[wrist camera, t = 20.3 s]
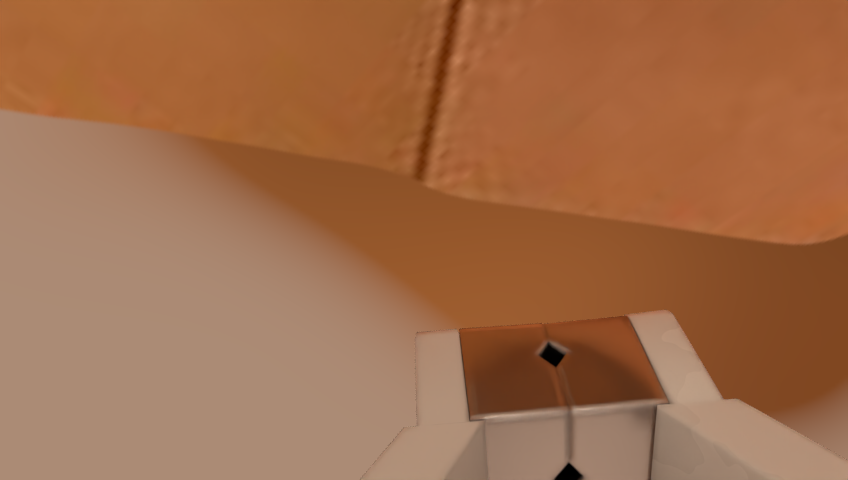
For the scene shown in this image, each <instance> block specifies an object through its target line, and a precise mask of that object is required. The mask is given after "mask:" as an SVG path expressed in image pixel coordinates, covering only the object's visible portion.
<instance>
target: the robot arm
mask: <svg viewBox="0 0 848 480" xmlns="http://www.w3.org/2000/svg"><path fill="white" fill-rule="evenodd" d="M459 334H460V337H459ZM415 369H416V413H417V414H416V415H417V426H413V427H405V428H403V429H402V430H401V431H400V433H399V434H398V435H397V436H396V437H395V439H394V440H393V441H392V442H391V443H390V444H389V446H388V447H387V448H386V449H385V450H384V452H383V453H382V454H381V455H380V457H379V458H378V459H377V460H376V461H375V462H374V463H373V465H372V466H371V467H370V468H369V469H368V471H367V472H366V473H365V474H364V475H363V476H362V478H361V479H360V480H848V460H847V459H845V458H843V457H841V456H840V455H838V454H836V453H834V452H832V451H831V450H829V449H827V448H825V447H824V446H822V445H820V444H818V443H816V442H815V441H813V440H811V439H809V438H807V437H806V436H804V435H802V434H800V433H798V432H796V431H794V430H793V429H791V428H789V427H788V426H786V425H784V424H782V423H780V422H779V421H777V420H775V419H773V418H771V417H770V416H768V415H766V414H764V413H762V412H761V411H759V410H757V409H755V408H753V407H752V406H750V405H748V404H746V403H744V402H742V401H741V400H739V399H727V400H724V399H723V397H722V396H721V394H720V392H719V390H718V389H717V387H716V385H715V384H714V382H713V380H712V379H711V377H710V375H709V374H708V372H707V370H706V369H705V367H704V366H703V364H702V362H701V360H700V359H699V357H698V355H697V354H696V352H695V350H694V349H693V347H692V345H691V344H690V342H689V340H688V338H687V337H686V335H685V333H684V332H683V330H682V328H681V327H680V325H679V323H678V322H677V320H676V318H675V317H674V315H673V314H672V313H671V312H669V311H667V310H660V311H651V312H643V313H634V314H626V315H624V316H619V317H608V318H598V319H588V320H577V321H567V322H558V323H547V324H542V323H536V324H522V325H507V326H493V327H478V328H464V329H459V332H458V331H457V330H456V329H450V330H439V331H427V332H417V334H416V337H415Z"/></svg>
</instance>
